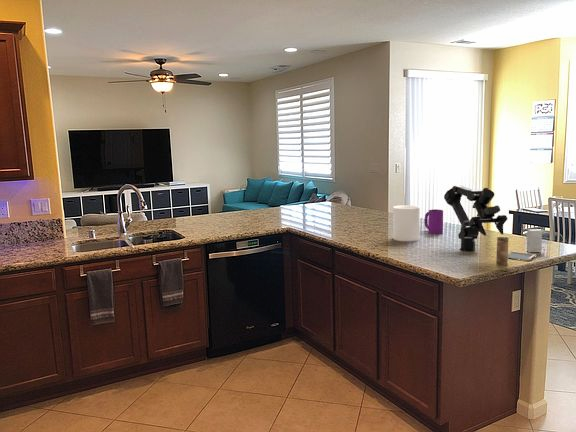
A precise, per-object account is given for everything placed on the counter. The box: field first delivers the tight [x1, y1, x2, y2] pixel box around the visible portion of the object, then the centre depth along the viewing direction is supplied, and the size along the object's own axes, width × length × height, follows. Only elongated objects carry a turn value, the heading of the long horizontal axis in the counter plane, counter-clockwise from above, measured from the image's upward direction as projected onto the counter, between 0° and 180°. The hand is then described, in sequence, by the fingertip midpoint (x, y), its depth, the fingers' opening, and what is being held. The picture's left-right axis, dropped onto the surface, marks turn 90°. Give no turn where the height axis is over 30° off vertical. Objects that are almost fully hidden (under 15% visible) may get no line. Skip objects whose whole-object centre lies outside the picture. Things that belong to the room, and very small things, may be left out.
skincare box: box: [526, 228, 543, 253], centre depth 252 cm, size 6×4×12 cm
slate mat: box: [508, 250, 537, 262], centre depth 242 cm, size 12×12×1 cm
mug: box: [424, 208, 444, 235], centre depth 313 cm, size 9×16×15 cm, turn 22°
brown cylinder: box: [495, 236, 509, 266], centre depth 230 cm, size 5×5×13 cm
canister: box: [392, 204, 421, 242], centre depth 295 cm, size 16×16×20 cm
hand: (494, 234), depth 237 cm, fingers open, 9 cm apart
